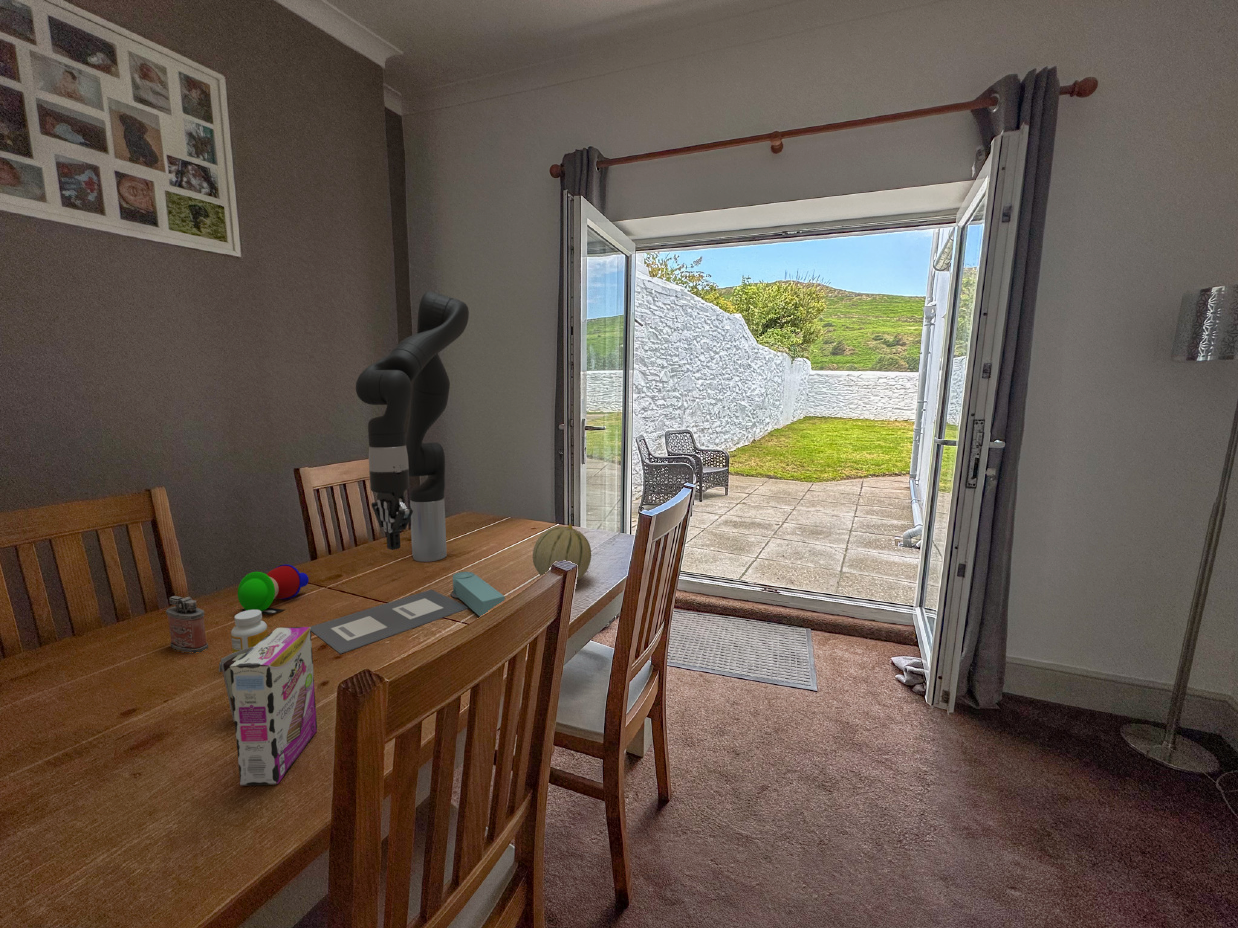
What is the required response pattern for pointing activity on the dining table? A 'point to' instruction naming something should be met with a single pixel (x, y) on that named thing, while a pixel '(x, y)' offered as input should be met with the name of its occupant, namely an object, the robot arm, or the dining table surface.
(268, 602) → the toy figure
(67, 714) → the dining table surface
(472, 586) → the block
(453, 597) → the pivot base
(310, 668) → the candy bar box
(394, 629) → the label panel
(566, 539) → the cantaloupe
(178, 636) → the lighter
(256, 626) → the supplement bottle
